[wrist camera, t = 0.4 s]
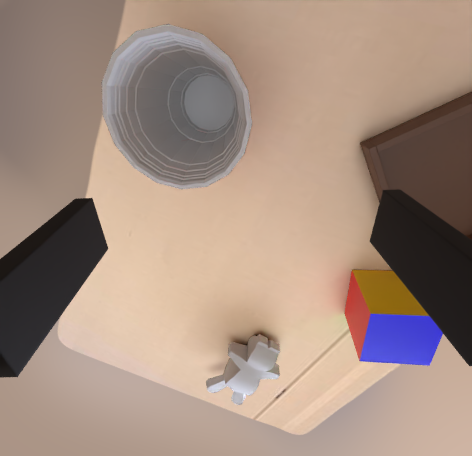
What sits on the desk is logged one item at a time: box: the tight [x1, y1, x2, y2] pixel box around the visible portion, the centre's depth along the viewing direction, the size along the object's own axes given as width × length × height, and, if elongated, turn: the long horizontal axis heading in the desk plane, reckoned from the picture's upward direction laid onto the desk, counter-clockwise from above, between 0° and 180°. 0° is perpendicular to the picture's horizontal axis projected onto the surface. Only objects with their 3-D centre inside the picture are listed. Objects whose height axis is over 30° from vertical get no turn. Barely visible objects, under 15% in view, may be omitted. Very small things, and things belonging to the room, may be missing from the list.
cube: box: [345, 270, 443, 365], centre depth 35 cm, size 8×8×8 cm
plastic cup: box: [102, 24, 252, 189], centre depth 24 cm, size 11×11×12 cm
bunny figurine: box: [206, 334, 280, 405], centre depth 46 cm, size 10×5×15 cm
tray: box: [360, 92, 472, 240], centre depth 28 cm, size 16×16×3 cm
